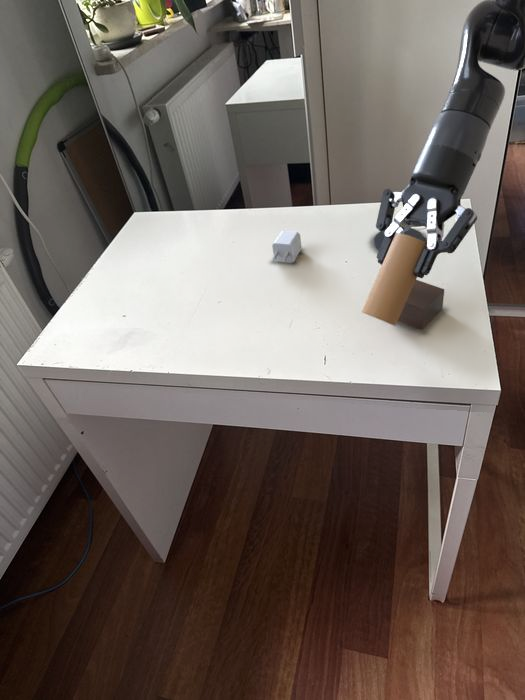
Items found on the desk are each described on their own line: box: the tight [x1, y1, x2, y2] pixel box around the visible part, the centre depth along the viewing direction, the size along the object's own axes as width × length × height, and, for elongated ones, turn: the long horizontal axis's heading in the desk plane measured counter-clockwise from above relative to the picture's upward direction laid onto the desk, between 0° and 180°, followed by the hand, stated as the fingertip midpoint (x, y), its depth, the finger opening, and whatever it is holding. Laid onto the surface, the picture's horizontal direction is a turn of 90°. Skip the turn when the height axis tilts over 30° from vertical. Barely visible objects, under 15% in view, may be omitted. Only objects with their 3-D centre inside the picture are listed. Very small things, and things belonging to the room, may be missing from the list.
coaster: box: [373, 227, 425, 251], centre depth 97 cm, size 9×9×1 cm
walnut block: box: [398, 279, 445, 331], centre depth 81 cm, size 6×8×4 cm
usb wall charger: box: [271, 230, 302, 264], centre depth 97 cm, size 4×7×4 cm, turn 158°
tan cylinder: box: [361, 233, 427, 327], centre depth 74 cm, size 12×5×12 cm, turn 137°
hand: (399, 269), depth 74 cm, fingers closed on tan cylinder, 5 cm apart
